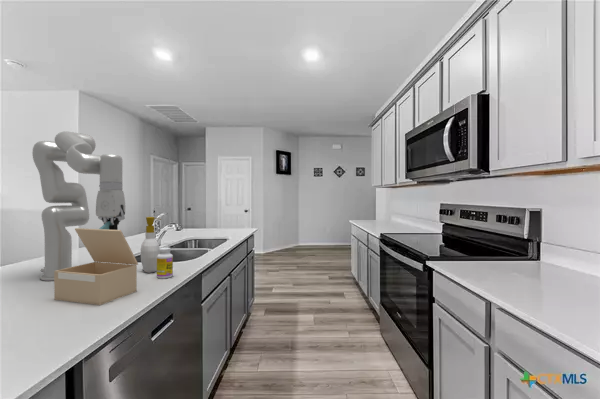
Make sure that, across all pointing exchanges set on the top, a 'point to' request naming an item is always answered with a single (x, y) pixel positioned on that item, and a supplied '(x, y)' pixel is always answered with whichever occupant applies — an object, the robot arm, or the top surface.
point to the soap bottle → (149, 248)
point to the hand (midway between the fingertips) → (111, 235)
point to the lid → (107, 245)
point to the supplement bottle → (164, 263)
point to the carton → (95, 282)
